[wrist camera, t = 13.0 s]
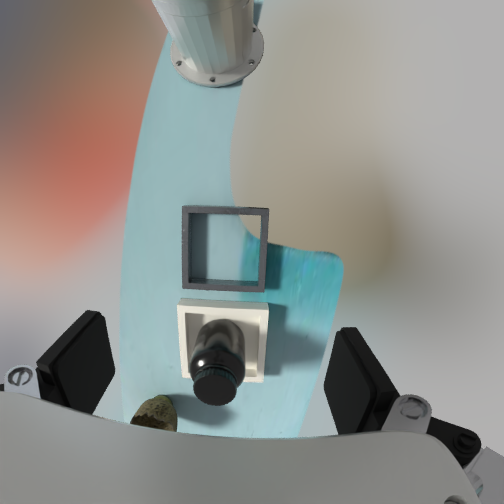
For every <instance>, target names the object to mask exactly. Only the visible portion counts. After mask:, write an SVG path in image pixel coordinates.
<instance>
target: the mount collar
mask: <svg viewBox="0 0 504 504" xmlns="http://www.w3.org/2000/svg"><path fill="white" fill-rule="evenodd" d="M191 213H215V214H243V215H261V232H260V233H261V234H260V251H259V270H258V281H234V280H213V279H194V278H191ZM268 221H269V209H268V208H256V207H234V206H202V205H184V206H182V288H183V289H199V290H217V291H239V292H264V289H265V273H266V256H267V239H268Z"/></svg>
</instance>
